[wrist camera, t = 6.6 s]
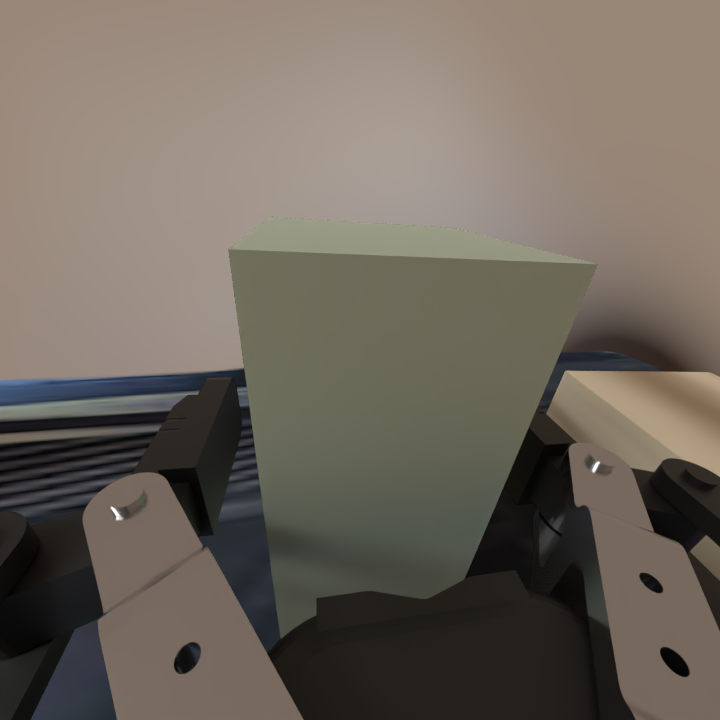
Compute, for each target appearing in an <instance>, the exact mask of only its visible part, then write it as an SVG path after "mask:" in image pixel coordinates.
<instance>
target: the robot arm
mask: <svg viewBox="0 0 720 720" xmlns="http://www.w3.org/2000/svg"><path fill="white" fill-rule="evenodd" d="M241 427H242V421H241V412H240V406H239V399H238V393H237V386H236V381H235V379H234V378H207V379H206V381H205V382H204V384H203V386H202V388H201V390H200V392H199V394H198V395H187V396H186V397H185V398H184V399H182V400H181V401H180V402H178V403H177V404H176V405H174V407H173V408H172V410H171V411H170V413H169V415H168V416H167V418H166V421H164V423H163V424H162V426H161V428H160V429H159V432H157V434H156V436H155V437H154V439H153V440H152V442H151V444H150V445H149V447H148V449H147V450H146V452H145V453H144V455H143V457H142V458H141V460H140V461H139V463H138V465H137V466H136V468H135V470H134V471H133V473H132V474H131V475H130V476H127V477H124V478H122V479H119V480H117V481H115V482H113V483H112V484H110V485H108V486H107V487H105V488H104V489H103V490H101V491H100V492H99V493H98V494H97V495H96V496H95V497H94V498H93V499H92V500H91V501H90V503H89V504H88V506H87V507H86V509H83V510H80V511H77V512H74V513H71V514H68V515H65V516H61V517H58V518H55V519H52V520H49V521H45V522H42V523H39V524H36V525H32V526H30V524H29V523H28V522H27V520H26V519H25V517H24V516H22V515H21V514H19V513H16V512H0V720H31V718H32V715H33V713H34V711H35V709H36V707H37V705H38V703H39V701H40V699H41V697H42V695H43V693H44V691H45V689H46V687H47V685H48V683H49V681H50V679H51V677H52V675H53V672H54V670H55V668H56V666H57V664H58V662H59V660H60V658H61V656H62V654H63V652H64V650H65V648H66V646H67V644H68V642H69V640H70V638H71V636H72V634H73V632H74V630H75V629H76V628H78V627H81V626H83V625H85V624H87V623H90V622H92V621H94V620H96V619H98V630H99V636H100V642H101V646H102V651H103V656H104V660H105V665H106V670H107V674H108V679H109V684H110V688H111V693H112V697H113V702H114V707H115V711H116V716H117V720H720V581H719V580H718V579H717V578H716V577H715V576H714V575H713V574H712V573H711V572H710V571H709V570H708V569H707V568H706V567H705V566H704V565H703V564H702V563H701V562H700V561H699V560H698V559H697V558H696V557H695V556H694V555H693V554H692V553H691V552H690V551H691V550H692V549H693V548H694V547H695V546H696V545H697V544H698V543H699V542H700V541H701V540H702V539H703V538H704V537H705V536H706V535H707V536H708V537H709V538H710V539H711V540H712V541H714V542H715V543H716V544H717V545H718V546H719V547H720V477H719V476H718V475H716V474H715V473H713V472H711V471H709V470H707V469H705V468H703V467H701V466H699V465H697V464H694V463H692V462H688V461H685V460H681V459H676V458H668V459H664V460H663V461H662V462H661V464H660V465H659V466H658V468H657V469H656V470H655V472H651V471H646V470H640V469H635V468H630V467H629V466H628V465H627V463H626V462H624V461H623V460H622V459H621V458H620V457H618V456H617V455H615V454H614V453H612V452H610V451H608V450H606V449H604V448H602V447H599V446H597V445H593V444H589V443H577V442H576V441H575V440H574V439H573V438H572V437H571V436H570V435H568V434H567V433H566V432H565V431H564V430H563V429H562V428H561V427H560V426H559V425H558V424H557V423H556V422H554V421H553V420H552V419H551V418H550V417H549V416H548V415H547V414H544V411H543V410H542V409H541V408H539V407H537V409H536V412H535V414H534V416H533V419H532V421H531V423H530V426H529V428H528V430H527V433H526V435H525V437H524V440H523V442H522V445H521V447H520V449H519V452H518V454H517V456H516V459H515V461H514V463H513V466H512V468H511V471H510V473H509V475H508V478H507V480H506V482H505V485H504V487H505V488H506V490H507V491H508V493H509V494H510V496H511V497H512V499H513V500H514V502H515V503H516V505H523V504H533V503H534V504H535V506H536V507H537V510H536V512H535V514H534V517H533V562H532V579H531V583H530V587H529V588H525V586H524V585H523V583H522V581H521V579H520V577H519V575H518V574H517V572H516V570H512V571H505V572H498V573H490V574H483V575H476V576H470V577H468V578H466V579H465V580H463V581H461V582H459V583H457V584H455V585H453V586H451V587H449V588H447V589H446V590H444V591H442V592H440V593H438V594H436V595H434V596H432V597H430V598H427V599H419V598H413V597H406V596H400V595H394V594H388V593H381V592H375V591H363V592H356V593H349V594H342V595H335V596H328V597H321V598H316V614H317V615H316V616H314V617H312V618H310V619H308V620H306V621H304V622H303V623H301V624H300V625H298V626H297V627H295V628H294V629H292V630H291V631H290V632H289V633H287V634H286V635H285V636H284V637H283V638H282V639H280V640H279V641H278V642H277V643H276V644H275V645H274V646H273V647H272V649H271V650H270V651H269V652H268V653H266V651H265V649H264V647H263V645H262V644H261V642H260V640H259V638H258V636H257V635H256V633H255V631H254V629H253V627H252V626H251V624H250V622H249V620H248V618H247V617H246V615H245V613H244V611H243V609H242V607H241V606H240V604H239V602H238V600H237V598H236V597H235V595H234V593H233V591H232V589H231V588H230V586H229V584H228V582H227V580H226V578H225V577H224V575H223V573H222V571H221V569H220V568H219V566H218V564H217V562H216V560H215V559H214V557H213V555H212V553H211V552H210V550H209V549H208V548H207V546H204V547H203V545H202V544H201V542H200V540H199V538H198V537H199V536H208V535H214V532H215V528H216V525H217V521H218V517H219V514H220V510H221V506H222V503H223V499H224V495H225V492H226V488H227V484H228V480H229V477H230V473H231V469H232V466H233V462H234V458H235V455H236V451H237V447H238V444H239V440H240V436H241Z"/></svg>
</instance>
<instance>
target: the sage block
mask: <svg viewBox="0 0 720 720" xmlns="http://www.w3.org/2000/svg"><path fill="white" fill-rule="evenodd" d="M228 251H229V258H230V266H231V273H232V281H233V288H234V296H235V303H236V310H237V318H238V325H239V333H240V339H241V348H242V355H243V362H244V370H245V377H246V385H247V392H248V400H249V407H250V414H251V422H252V429H253V437H254V444H255V452H256V459H257V467H258V474H259V481H260V489H261V496H262V504H263V511H264V519H265V526H266V533H267V541H268V548H269V556H270V563H271V571H272V578H273V585H274V593H275V600H276V608H277V615H278V623H279V630H280V637H281V639H282V638H283V637H284V636H285V635H286V634H287V633H289V632H290V631H291V630H292V629H294V628H295V627H297V626H298V625H300V624H301V623H303V622H304V621H306V620H308V619H310V618H312V617H314V616H316V615H317V614H316V598H321V597H328V596H335V595H342V594H349V593H356V592H363V591H375V592H381V593H388V594H394V595H400V596H406V597H413V598H419V599H427V598H430V597H432V596H434V595H436V594H438V593H440V592H442V591H444V590H446V589H447V588H449V587H451V586H453V585H455V584H457V583H459V582H461V581H463V580H464V579H465V577H466V574H467V572H468V570H469V567H470V565H471V563H472V560H473V558H474V556H475V553H476V551H477V548H478V546H479V544H480V541H481V539H482V537H483V534H484V532H485V530H486V527H487V525H488V523H489V520H490V518H491V515H492V513H493V511H494V508H495V506H496V504H497V501H498V499H499V497H500V494H501V492H502V489H503V487H504V485H505V482H506V480H507V478H508V475H509V473H510V471H511V468H512V466H513V463H514V461H515V459H516V456H517V454H518V452H519V449H520V447H521V445H522V442H523V440H524V437H525V435H526V433H527V430H528V428H529V426H530V423H531V421H532V419H533V416H534V414H535V412H536V409H537V407H538V404H539V402H540V400H541V397H542V395H543V393H544V390H545V388H546V386H547V383H548V381H549V378H550V376H551V374H552V371H553V369H554V367H555V364H556V362H557V360H558V357H559V355H560V352H561V350H562V348H563V345H564V343H565V340H566V338H567V336H568V333H569V331H570V329H571V326H572V324H573V322H574V319H575V317H576V315H577V312H578V310H579V308H580V305H581V303H582V300H583V298H584V296H585V293H586V291H587V288H588V286H589V284H590V282H591V279H592V277H593V274H594V272H595V270H596V267H597V264H595V263H591V262H587V261H583V260H579V259H575V258H571V257H567V256H564V255H560V254H555V253H552V252H548V251H544V250H540V249H536V248H532V247H528V246H524V245H520V244H516V243H512V242H508V241H504V240H500V239H496V238H492V237H488V236H484V235H480V234H476V233H472V232H469V231H465V230H461V229H457V228H451V227H434V226H416V225H400V224H381V223H364V222H347V221H331V220H312V219H296V218H278V217H271V218H270V219H268V220H267V221H265V222H264V223H263V224H262V225H260V226H259V227H257V228H256V229H255V230H253V231H252V232H251V233H250V234H248V235H247V236H245V237H244V238H243V239H241V240H240V241H239V242H237V243H236V244H235V245H233V246H232V247H231V248H229V250H228Z"/></svg>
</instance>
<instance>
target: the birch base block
mask: <svg viewBox="0 0 720 720" xmlns="http://www.w3.org/2000/svg"><path fill="white" fill-rule="evenodd" d="M546 414H547V415H548V416H549V417H550V418H551V419H552V420H553V421H554V422H556V423H557V424H558V425H559V426H560V427H561V428H562V429H563V430H564V431H565V432H566V433H567V434H568V435H570V436H571V437H572V438H573V439H574V440H575V441H576V442H577V443H589V444H593V445H597V446H599V447H602V448H604V449H606V450H608V451H610V452H612V453H614V454H615V455H617V456H618V457H620V458H621V459H622V460H623V461H624V462H626V463H627V465H628V466H629V467H630V468H635V469H640V470H646V471H651V472H655V470H656V469H657V468H658V466H659V465H660V464H661V462H662V461H663V460H664V459H668V458H676V459H681V460H685V461H688V462H692V463H694V464H697V465H699V466H701V467H703V468H705V469H707V470H709V471H711V472H713V473H715V474H716V475H718V476H719V477H720V377H718V376H716V375H714V374H712V373H710V372H630V371H565V373H564V375H563V377H562V380H561V382H560V384H559V386H558V389H557V391H556V393H555V395H554V398H553V400H552V402H551V404H550V407H549V409H548V411H547V413H546ZM690 552H691V553H692V554H693V555H694V556H695V557H696V558H697V559H698V560H699V561H700V562H701V563H702V564H703V565H704V566H705V567H706V568H707V569H708V570H709V571H710V572H711V573H712V574H713V575H714V576H715V577H716V578H717V579H718V580H719V581H720V547H719V546H718V545H717V544H716V543H715V542H714V541H712V540H711V539H710V538H709V537H708V536H707V535H706V536H705V537H704V538H703V539H702V540H701V541H700V542H699V543H698V544H697V545H696V546H695V547H694V548H693V549H692V550H691V551H690Z"/></svg>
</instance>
